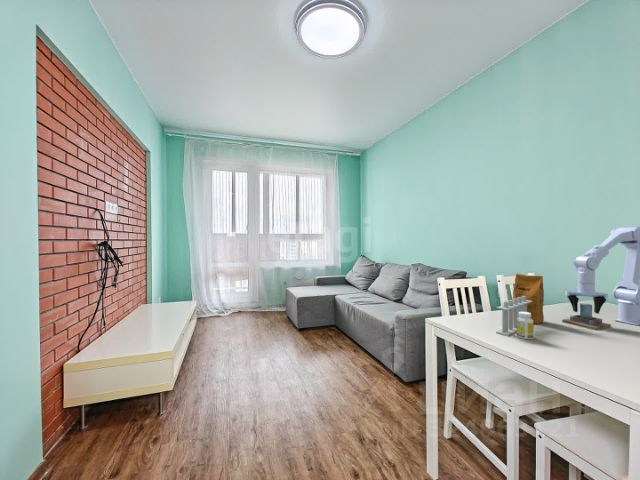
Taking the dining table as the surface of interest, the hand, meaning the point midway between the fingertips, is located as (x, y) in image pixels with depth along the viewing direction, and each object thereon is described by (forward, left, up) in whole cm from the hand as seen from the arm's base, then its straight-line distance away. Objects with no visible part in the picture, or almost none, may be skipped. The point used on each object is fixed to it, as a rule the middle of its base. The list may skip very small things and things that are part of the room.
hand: (585, 312), depth 127 cm
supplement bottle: (+42, 0, -6) cm, 42 cm away
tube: (0, 0, -4) cm, 4 cm away
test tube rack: (+36, -8, -6) cm, 37 cm away
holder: (0, 0, -5) cm, 5 cm away
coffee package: (+18, -14, -6) cm, 23 cm away
